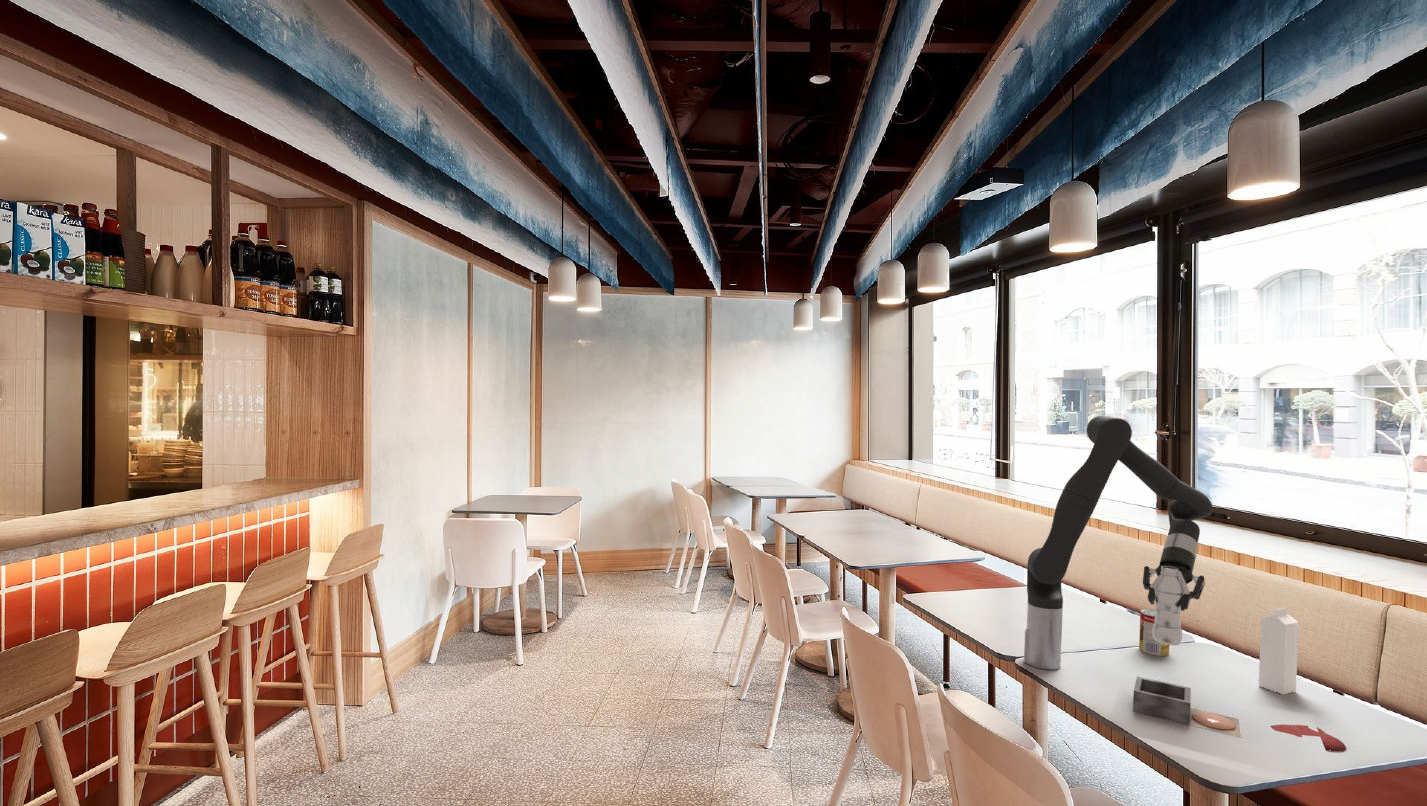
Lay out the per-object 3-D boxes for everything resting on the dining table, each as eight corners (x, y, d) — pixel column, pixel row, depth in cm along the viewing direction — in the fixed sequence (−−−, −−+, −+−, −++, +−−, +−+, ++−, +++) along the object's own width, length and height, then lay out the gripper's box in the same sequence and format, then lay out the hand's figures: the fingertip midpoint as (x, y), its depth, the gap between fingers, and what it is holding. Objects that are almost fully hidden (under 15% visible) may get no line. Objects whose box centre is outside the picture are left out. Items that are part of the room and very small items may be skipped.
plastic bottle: (1186, 649, 181) (1190, 571, 181) (1157, 646, 182) (1160, 569, 182) (1175, 641, 187) (1178, 566, 187) (1147, 638, 188) (1150, 563, 188)
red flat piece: (1282, 752, 156) (1282, 743, 156) (1235, 724, 170) (1235, 715, 170) (1360, 755, 157) (1360, 746, 157) (1306, 726, 170) (1307, 718, 170)
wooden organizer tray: (1132, 717, 170) (1133, 691, 170) (1135, 701, 180) (1136, 676, 180) (1240, 744, 159) (1242, 715, 159) (1238, 725, 169) (1239, 697, 169)
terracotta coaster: (1191, 723, 165) (1191, 721, 165) (1191, 710, 172) (1191, 709, 172) (1236, 733, 161) (1236, 731, 161) (1234, 720, 168) (1234, 718, 168)
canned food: (1168, 650, 220) (1170, 612, 220) (1169, 658, 214) (1170, 618, 213) (1139, 645, 224) (1140, 607, 224) (1138, 652, 218) (1140, 613, 218)
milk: (1296, 692, 190) (1300, 610, 190) (1282, 695, 188) (1286, 612, 188) (1270, 683, 196) (1274, 604, 196) (1257, 686, 194) (1261, 606, 193)
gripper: (1146, 541, 195) (1133, 591, 186) (1209, 550, 185) (1198, 604, 176) (1150, 557, 199) (1137, 607, 190) (1212, 567, 189) (1201, 621, 180)
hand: (1166, 605), depth 183 cm, fingers closed on plastic bottle, 6 cm apart
